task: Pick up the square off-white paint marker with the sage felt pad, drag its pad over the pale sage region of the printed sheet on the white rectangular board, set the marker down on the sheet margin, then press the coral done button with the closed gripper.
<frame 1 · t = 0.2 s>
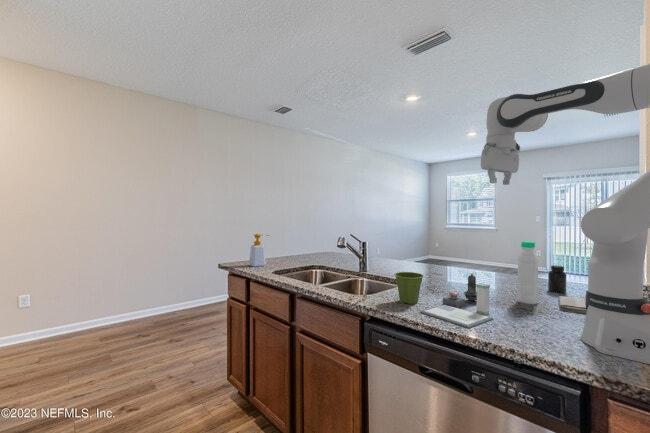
hand: (499, 184, 110), 47 cm above the worktop, fingers open, 8 cm apart
plant pot: (408, 302, 127), on the worktop
water bottle: (527, 302, 126), on the worktop
white rectangular board: (455, 315, 109), on the worktop
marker: (482, 313, 112), on the worktop
supplement bottle: (557, 292, 144), on the worktop
done button: (453, 297, 122), point 3 cm above the worktop, slide at 0.0 cm
washcloth: (577, 309, 120), on the worktop
soap bottle: (260, 265, 214), on the worktop
dark tiered figurine: (471, 302, 126), on the worktop
button housing: (453, 304, 122), on the worktop
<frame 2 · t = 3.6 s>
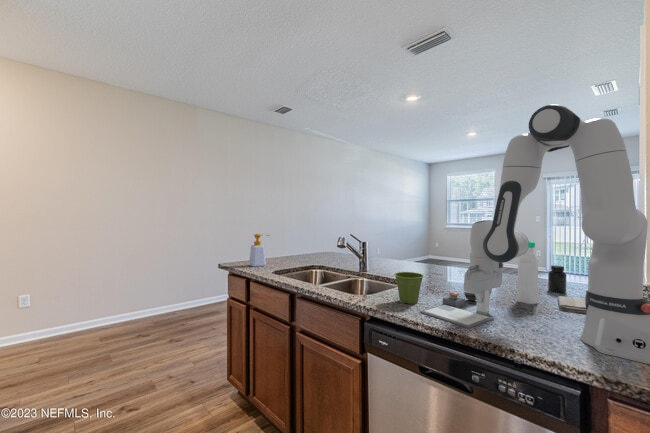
hand: (483, 302, 112), 4 cm above the worktop, fingers closed on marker, 3 cm apart
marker: (482, 313, 112), on the worktop, touching gripper
everything else where it was.
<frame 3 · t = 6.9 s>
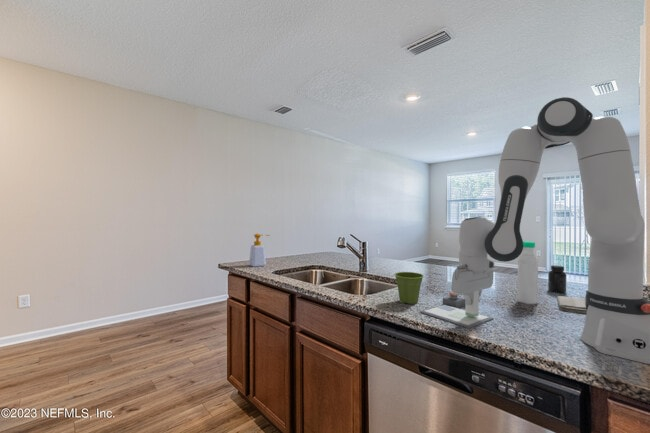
hand: (472, 303, 106), 5 cm above the worktop, fingers closed on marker, 3 cm apart
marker: (471, 315, 106), point 1 cm above the worktop, touching gripper
everything else where it was.
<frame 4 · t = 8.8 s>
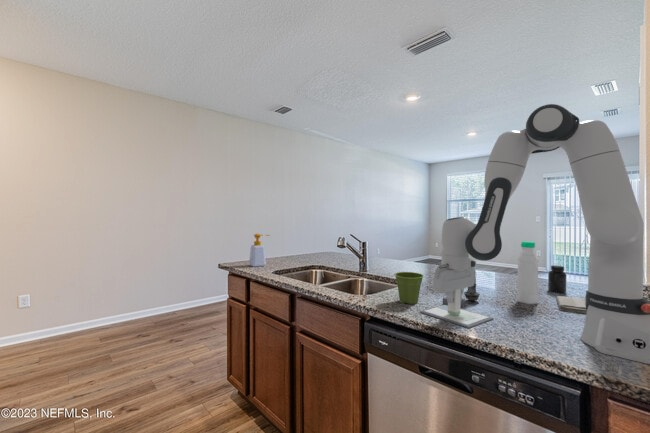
hand: (454, 301, 108), 5 cm above the worktop, fingers closed on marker, 3 cm apart
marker: (454, 313, 108), point 1 cm above the worktop, touching gripper
everything else where it was.
when the fingers open (6 cm above the worktop, at t = 10.4 s): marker stays where it is, resting on white rectangular board.
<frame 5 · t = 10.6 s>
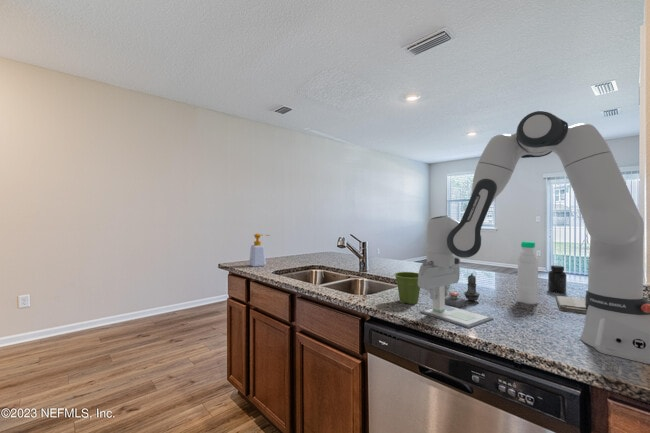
hand: (438, 297, 112), 6 cm above the worktop, fingers open, 5 cm apart
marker: (438, 311, 112), point 1 cm above the worktop, touching white rectangular board
everything else where it was.
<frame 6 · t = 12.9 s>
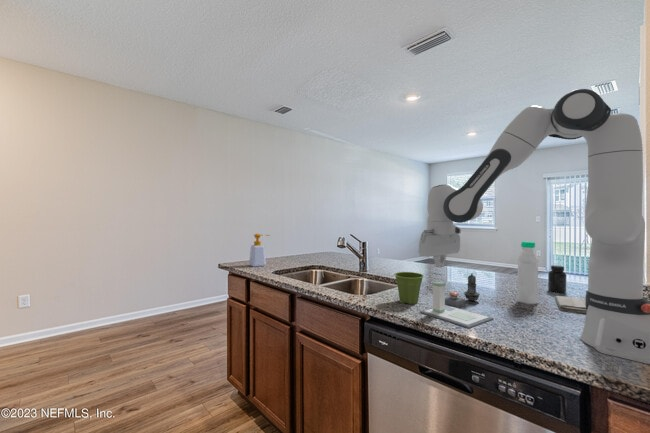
hand: (439, 267, 112), 17 cm above the worktop, fingers closed
nothing on the worktop moved.
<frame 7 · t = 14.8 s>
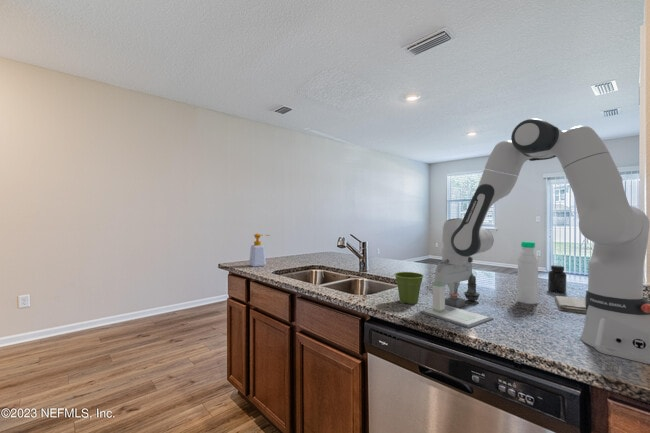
hand: (453, 293, 123), 5 cm above the worktop, fingers closed, pressing on done button
done button: (453, 297, 122), point 3 cm above the worktop, slide at 0.2 cm, touching gripper
everything else where it was.
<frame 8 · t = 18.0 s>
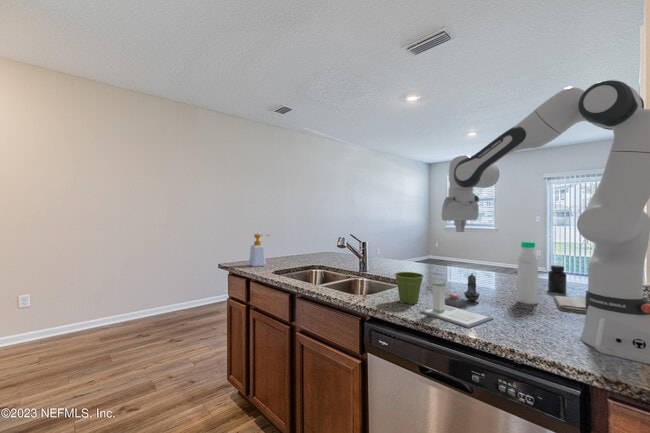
hand: (460, 231, 123), 29 cm above the worktop, fingers closed
done button: (453, 299, 122), point 2 cm above the worktop, slide at 0.7 cm
everything else where it was.
at the end: done button slide at 0.7 cm; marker inside the target area on the white rectangular board (5.7 cm from its centre), point 0.7 cm above the white rectangular board's base; the gripper is holding nothing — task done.
